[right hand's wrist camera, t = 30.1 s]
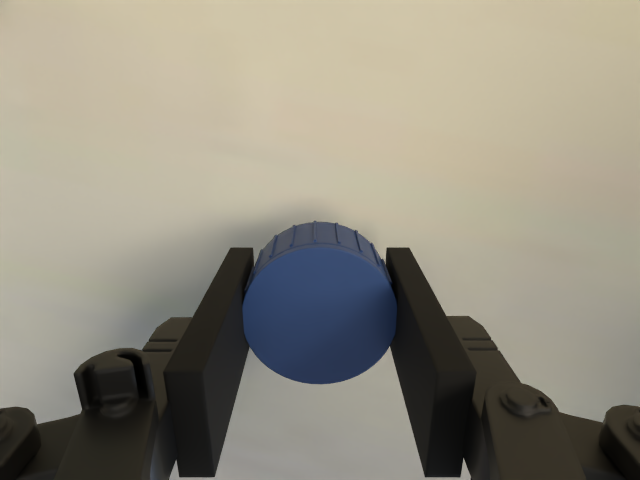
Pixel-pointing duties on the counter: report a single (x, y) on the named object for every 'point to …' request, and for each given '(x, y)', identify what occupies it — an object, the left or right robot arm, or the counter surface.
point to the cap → (319, 304)
